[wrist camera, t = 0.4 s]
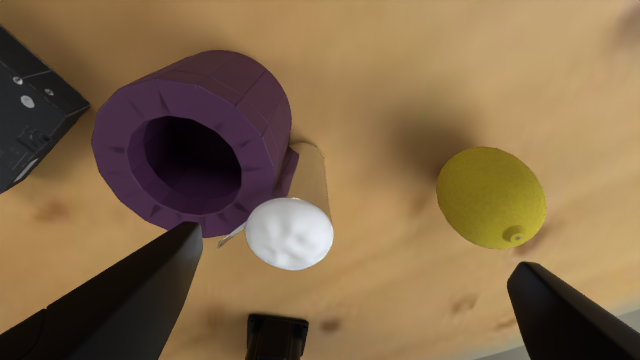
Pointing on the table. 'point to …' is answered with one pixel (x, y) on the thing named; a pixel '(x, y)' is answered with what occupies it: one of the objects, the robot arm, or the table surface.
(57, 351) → the robot arm
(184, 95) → the jar
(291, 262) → the shiny round-topped post
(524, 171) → the lemon
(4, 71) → the disk drive
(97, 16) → the table surface
